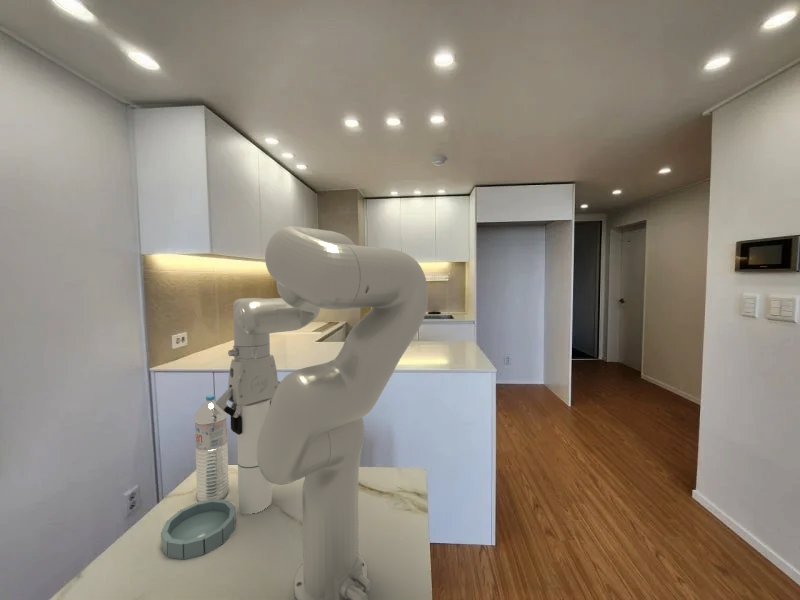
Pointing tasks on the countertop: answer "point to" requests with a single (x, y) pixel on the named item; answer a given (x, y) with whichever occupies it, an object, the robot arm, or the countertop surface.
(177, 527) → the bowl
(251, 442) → the cylindrical container
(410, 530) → the countertop surface
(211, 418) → the water bottle
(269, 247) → the robot arm
